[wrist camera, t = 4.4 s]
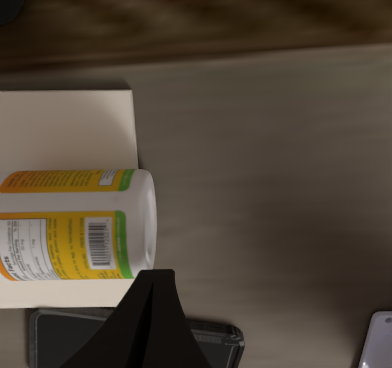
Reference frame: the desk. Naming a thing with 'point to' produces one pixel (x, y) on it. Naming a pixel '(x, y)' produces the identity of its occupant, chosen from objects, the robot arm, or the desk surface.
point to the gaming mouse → (9, 10)
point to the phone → (94, 317)
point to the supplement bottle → (76, 224)
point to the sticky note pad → (66, 160)
